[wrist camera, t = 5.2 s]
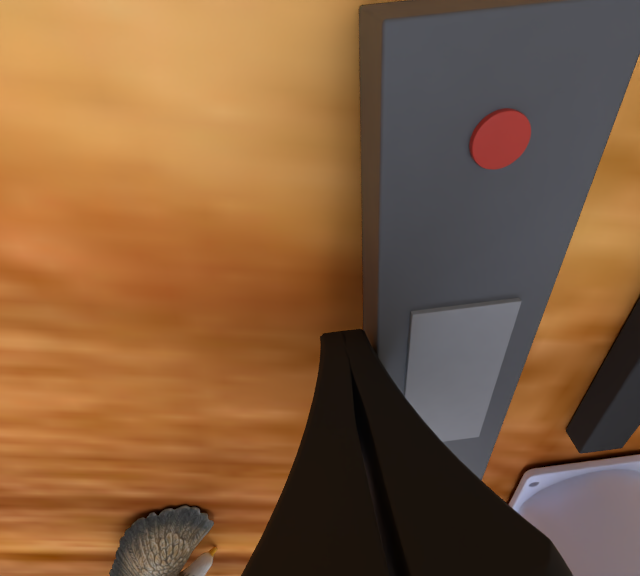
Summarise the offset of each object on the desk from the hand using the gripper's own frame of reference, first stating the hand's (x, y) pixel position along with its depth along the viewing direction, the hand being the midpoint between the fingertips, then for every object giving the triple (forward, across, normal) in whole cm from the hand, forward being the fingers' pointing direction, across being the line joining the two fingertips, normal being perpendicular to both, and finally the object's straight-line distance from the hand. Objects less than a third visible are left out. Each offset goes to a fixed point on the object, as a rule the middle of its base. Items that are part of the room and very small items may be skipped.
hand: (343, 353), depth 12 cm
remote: (+1, -3, 0) cm, 3 cm away
